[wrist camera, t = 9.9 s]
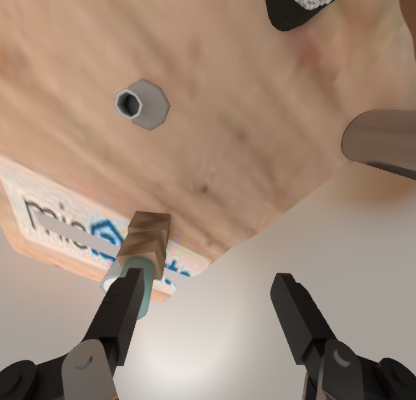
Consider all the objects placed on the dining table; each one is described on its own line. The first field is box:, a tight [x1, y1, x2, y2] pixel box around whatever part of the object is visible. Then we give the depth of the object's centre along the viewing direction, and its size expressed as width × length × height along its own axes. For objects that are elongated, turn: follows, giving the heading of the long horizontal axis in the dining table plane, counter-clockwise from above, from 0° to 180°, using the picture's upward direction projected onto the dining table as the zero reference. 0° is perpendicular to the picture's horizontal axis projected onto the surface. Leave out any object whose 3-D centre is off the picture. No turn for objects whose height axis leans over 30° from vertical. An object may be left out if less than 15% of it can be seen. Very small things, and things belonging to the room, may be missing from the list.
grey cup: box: [100, 258, 122, 294], centre depth 42 cm, size 7×7×7 cm
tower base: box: [128, 211, 170, 250], centre depth 38 cm, size 7×7×6 cm
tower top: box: [116, 230, 166, 280], centre depth 33 cm, size 6×6×6 cm
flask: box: [114, 78, 170, 131], centre depth 26 cm, size 7×7×10 cm
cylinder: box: [119, 257, 155, 320], centre depth 27 cm, size 5×5×7 cm
